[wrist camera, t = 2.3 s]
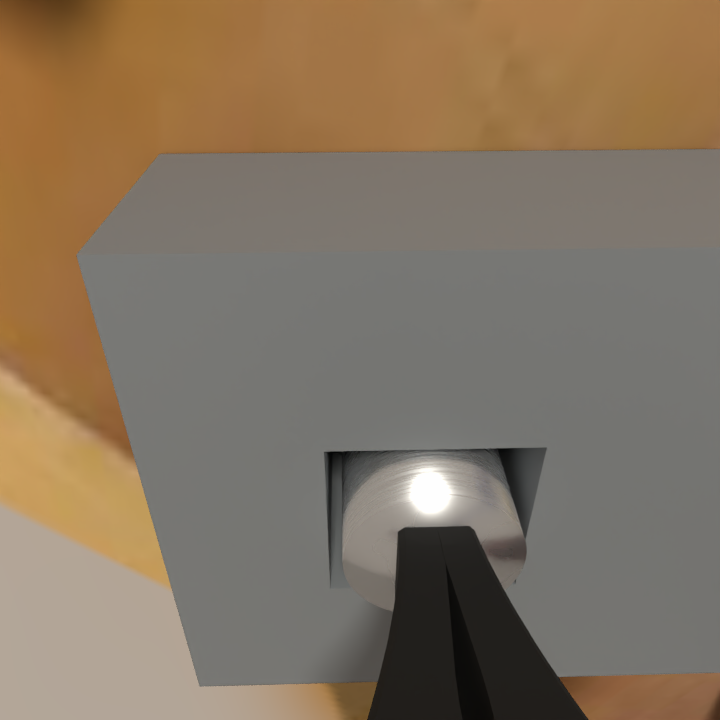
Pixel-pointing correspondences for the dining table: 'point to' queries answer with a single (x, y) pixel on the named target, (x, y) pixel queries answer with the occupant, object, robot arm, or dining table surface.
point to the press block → (423, 387)
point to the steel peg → (423, 511)
